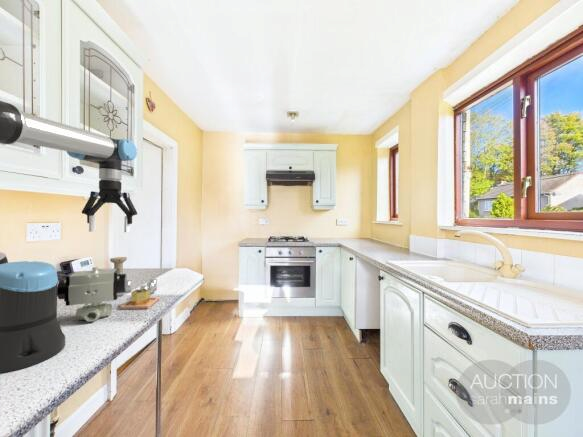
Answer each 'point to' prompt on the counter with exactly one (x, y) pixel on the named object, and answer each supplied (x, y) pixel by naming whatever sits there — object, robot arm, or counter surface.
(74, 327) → the counter surface
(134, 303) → the nut
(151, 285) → the spacers
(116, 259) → the handle
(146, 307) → the dish
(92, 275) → the ball valve
